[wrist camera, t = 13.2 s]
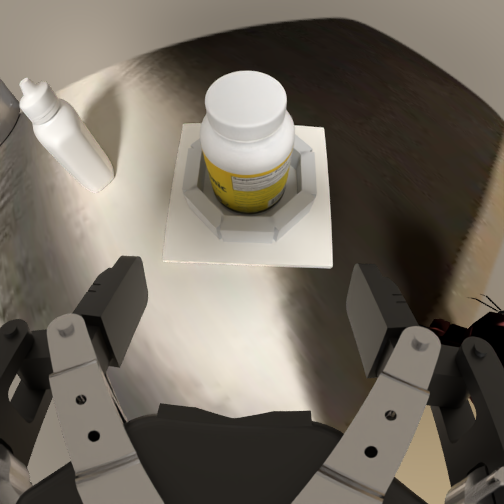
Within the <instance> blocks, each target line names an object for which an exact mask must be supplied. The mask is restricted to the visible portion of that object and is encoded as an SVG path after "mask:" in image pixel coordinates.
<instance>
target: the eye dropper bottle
mask: <svg viewBox="0 0 504 504" xmlns="http://www.w3.org/2000/svg"><path fill="white" fill-rule="evenodd" d="M19 85H20V88H21V90H22V92H23V96H22V98H21V100H20V104H19V106H20V108H21V110H22V111H23V112H24V113H25V114H26V116H27V117H28V118H29V119H30V120H31V121H32V123H33V129H34V133H35V135H36V137H37V139H38V140H39V141H40V143H41V144H42V145H43V146H44V147H45V148H46V149H47V150H48V152H49V153H50V154H51V155H52V156H53V157H54V158H55V159H56V160H57V161H58V162H59V163H60V164H61V165H62V166H63V167H64V168H65V169H66V170H67V171H68V172H69V173H70V175H71V176H72V177H73V178H74V179H75V180H76V181H77V182H78V183H79V184H80V185H81V186H83V187H84V188H85V189H87V190H89V191H91V192H93V193H98V192H100V191H101V190H102V189H103V188H104V187H106V186H107V185H108V184H109V183H110V182H111V181H112V180H113V178H114V171H113V167H112V164H111V162H110V160H109V158H108V157H107V155H106V154H105V152H104V151H103V150H102V148H101V147H100V145H99V144H98V142H97V141H96V140H95V138H94V137H93V135H92V134H91V133H90V131H89V130H88V128H87V127H86V125H85V124H84V122H83V121H82V120H81V118H80V117H79V115H78V114H77V112H76V111H75V109H74V108H73V107H72V106H71V105H70V104H69V103H68V102H67V101H65V100H63V99H59V98H58V97H57V96H56V94H55V93H54V91H53V90H52V89H51V87H50V86H49V84H48V83H47V82H45V81H42V82H38V83H36V84H35V83H33V82H32V81H31V80H30V79H29V78H27V77H26V78H24V79H23V80H22V81H21V82H20V84H19Z"/></svg>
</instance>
